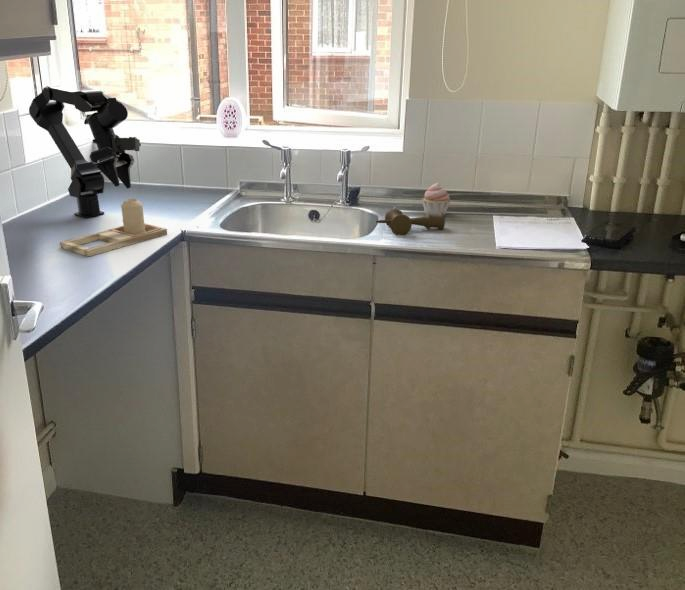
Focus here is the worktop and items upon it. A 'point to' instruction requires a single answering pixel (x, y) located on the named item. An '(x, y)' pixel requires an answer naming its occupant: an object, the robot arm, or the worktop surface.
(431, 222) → the kendama
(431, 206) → the cupcake
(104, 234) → the rail frame
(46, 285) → the worktop surface
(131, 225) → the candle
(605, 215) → the worktop surface
